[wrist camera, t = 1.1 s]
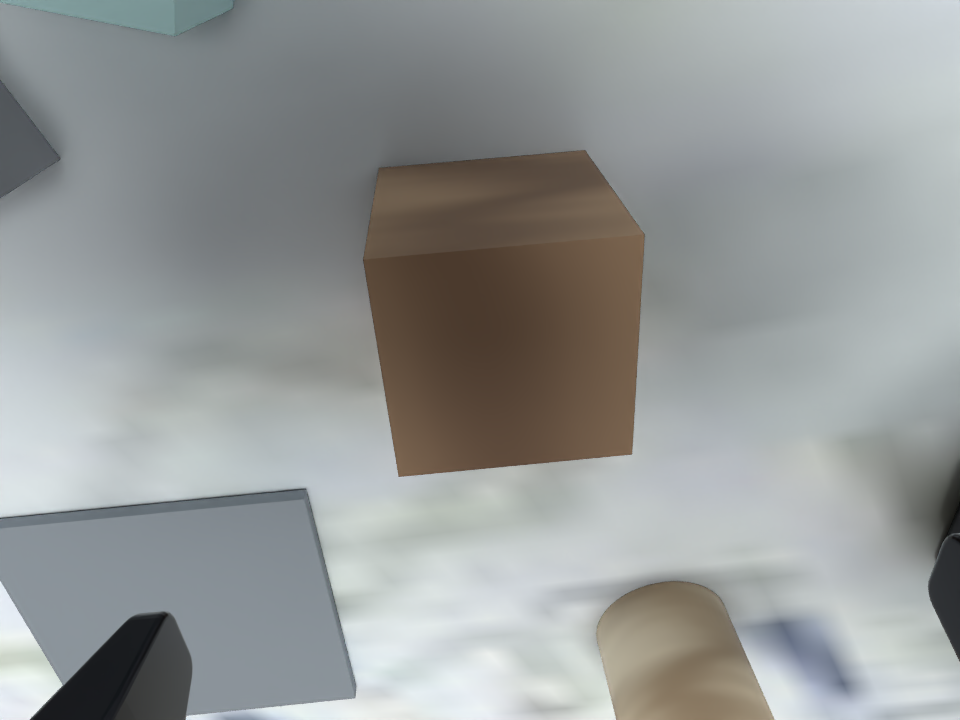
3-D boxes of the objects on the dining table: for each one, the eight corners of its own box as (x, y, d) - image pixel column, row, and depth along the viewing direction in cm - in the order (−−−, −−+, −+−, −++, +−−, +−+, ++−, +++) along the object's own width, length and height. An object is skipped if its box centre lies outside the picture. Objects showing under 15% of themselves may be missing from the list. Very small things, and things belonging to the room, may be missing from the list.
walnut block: (584, 149, 16) (644, 234, 12) (582, 328, 18) (632, 454, 14) (379, 167, 16) (363, 259, 11) (403, 345, 18) (398, 476, 14)
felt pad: (306, 489, 20) (303, 499, 20) (356, 687, 25) (355, 698, 24) (-22, 520, 20) (-29, 531, 20) (91, 714, 25) (87, 725, 24)
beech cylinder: (733, 574, 23) (803, 721, 19) (718, 661, 26) (777, 809, 21) (597, 587, 23) (637, 739, 19) (595, 673, 25) (629, 825, 21)
